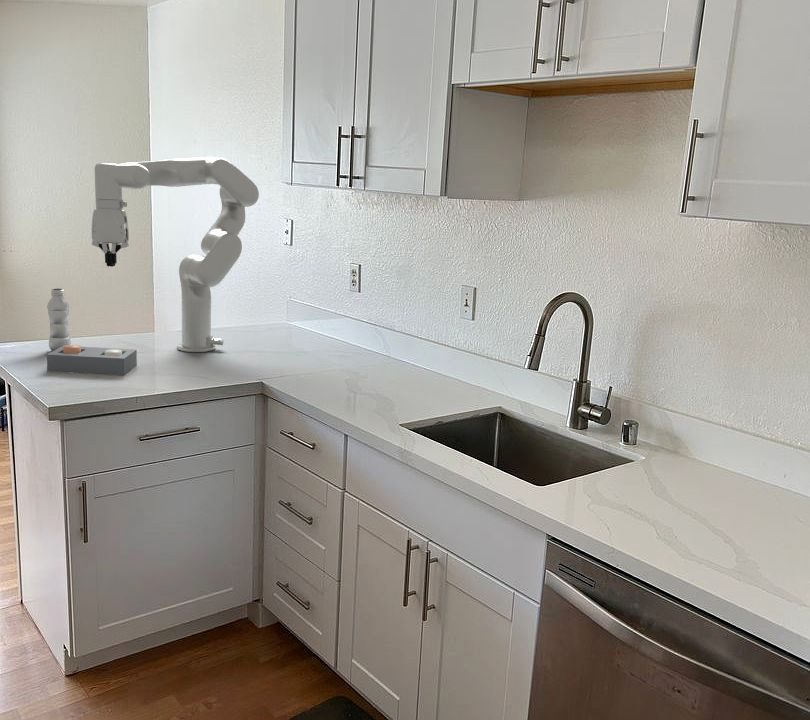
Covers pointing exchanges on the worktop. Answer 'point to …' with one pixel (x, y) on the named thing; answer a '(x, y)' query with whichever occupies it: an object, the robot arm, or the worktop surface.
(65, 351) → the terracotta button
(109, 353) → the ivory button
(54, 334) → the plastic bottle
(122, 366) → the grey two-hole block
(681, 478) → the worktop surface
